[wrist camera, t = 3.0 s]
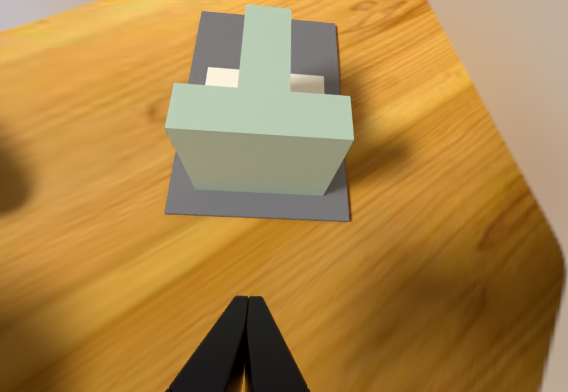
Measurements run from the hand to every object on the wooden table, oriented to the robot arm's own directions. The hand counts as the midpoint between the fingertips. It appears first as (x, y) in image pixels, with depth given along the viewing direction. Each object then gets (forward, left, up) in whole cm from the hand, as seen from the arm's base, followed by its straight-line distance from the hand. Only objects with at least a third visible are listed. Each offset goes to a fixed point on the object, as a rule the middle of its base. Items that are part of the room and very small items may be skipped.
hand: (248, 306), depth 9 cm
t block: (+10, -10, -11) cm, 18 cm away
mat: (+12, -13, -12) cm, 21 cm away
